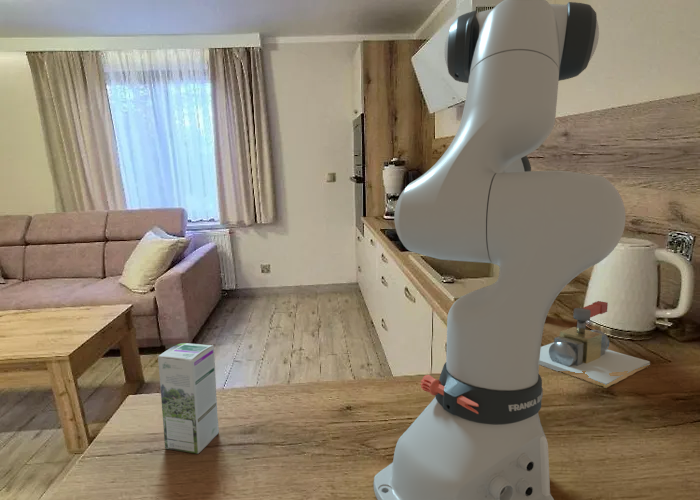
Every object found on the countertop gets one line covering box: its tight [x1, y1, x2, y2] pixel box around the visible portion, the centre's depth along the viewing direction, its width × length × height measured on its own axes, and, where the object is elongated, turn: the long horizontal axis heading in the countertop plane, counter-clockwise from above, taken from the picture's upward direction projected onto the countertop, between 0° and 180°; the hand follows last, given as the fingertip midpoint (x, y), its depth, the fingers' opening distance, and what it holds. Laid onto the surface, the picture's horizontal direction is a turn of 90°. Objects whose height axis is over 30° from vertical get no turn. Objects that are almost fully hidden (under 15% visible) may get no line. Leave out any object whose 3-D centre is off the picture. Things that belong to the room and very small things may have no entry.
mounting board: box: [539, 342, 651, 385], centre depth 88 cm, size 19×18×1 cm
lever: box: [572, 300, 609, 322], centre depth 90 cm, size 3×12×2 cm, turn 127°
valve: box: [549, 320, 610, 366], centre depth 88 cm, size 15×6×9 cm, turn 123°
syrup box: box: [157, 342, 220, 455], centre depth 59 cm, size 6×6×14 cm
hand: (531, 260), depth 98 cm, fingers closed
